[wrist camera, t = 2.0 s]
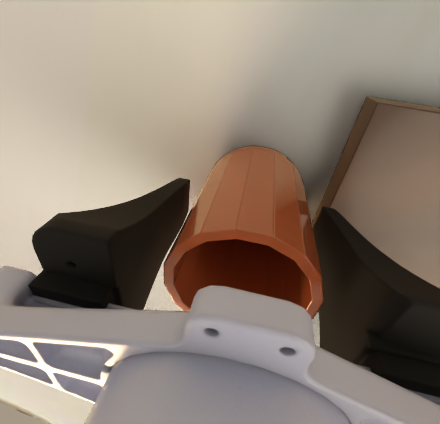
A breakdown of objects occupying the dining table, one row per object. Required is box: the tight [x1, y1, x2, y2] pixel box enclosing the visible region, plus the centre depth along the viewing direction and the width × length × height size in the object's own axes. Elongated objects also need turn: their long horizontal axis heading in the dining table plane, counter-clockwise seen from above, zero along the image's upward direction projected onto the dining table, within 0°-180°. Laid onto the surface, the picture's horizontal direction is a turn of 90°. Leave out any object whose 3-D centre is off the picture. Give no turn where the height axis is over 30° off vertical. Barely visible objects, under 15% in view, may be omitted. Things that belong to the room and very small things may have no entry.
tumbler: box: [164, 146, 324, 319], centre depth 12 cm, size 6×6×8 cm
